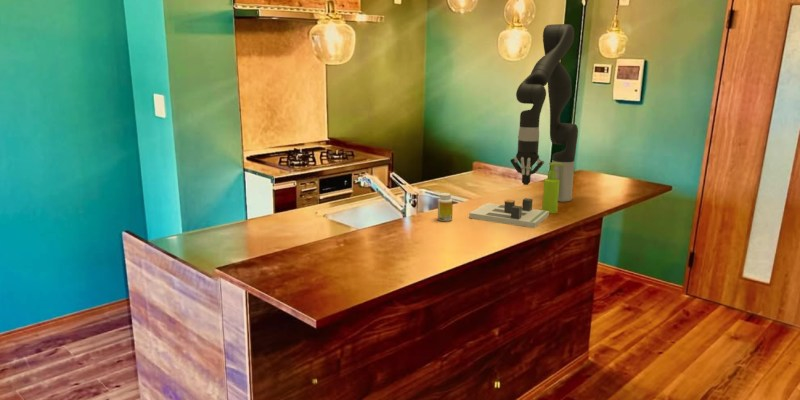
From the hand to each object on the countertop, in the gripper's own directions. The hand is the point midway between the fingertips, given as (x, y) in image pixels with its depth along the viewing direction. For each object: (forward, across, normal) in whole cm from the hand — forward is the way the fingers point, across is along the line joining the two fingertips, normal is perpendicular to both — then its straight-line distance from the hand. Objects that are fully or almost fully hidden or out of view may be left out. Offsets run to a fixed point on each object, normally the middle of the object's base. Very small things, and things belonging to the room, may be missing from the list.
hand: (525, 184), depth 213 cm
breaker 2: (+11, +1, -7) cm, 13 cm away
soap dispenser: (+14, -6, -16) cm, 22 cm away
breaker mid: (+11, +6, 0) cm, 13 cm away
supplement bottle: (+14, +26, +16) cm, 34 cm away
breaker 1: (+12, +1, +6) cm, 13 cm away
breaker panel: (+14, +6, 0) cm, 15 cm away
